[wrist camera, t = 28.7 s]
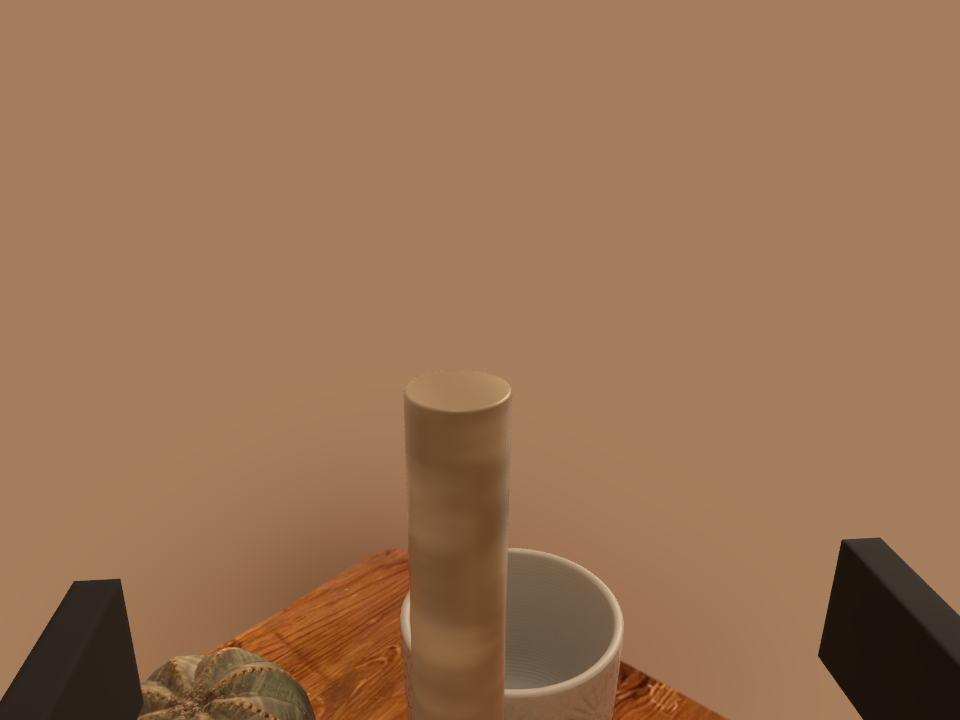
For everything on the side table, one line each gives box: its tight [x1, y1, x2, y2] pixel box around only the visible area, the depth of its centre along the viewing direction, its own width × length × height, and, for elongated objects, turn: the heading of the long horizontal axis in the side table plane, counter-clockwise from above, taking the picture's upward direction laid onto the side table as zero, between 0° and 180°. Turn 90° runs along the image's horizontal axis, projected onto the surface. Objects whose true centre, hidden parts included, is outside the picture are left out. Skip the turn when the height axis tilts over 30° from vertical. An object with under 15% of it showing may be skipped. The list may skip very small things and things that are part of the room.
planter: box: [400, 548, 624, 720], centre depth 45 cm, size 12×12×11 cm
